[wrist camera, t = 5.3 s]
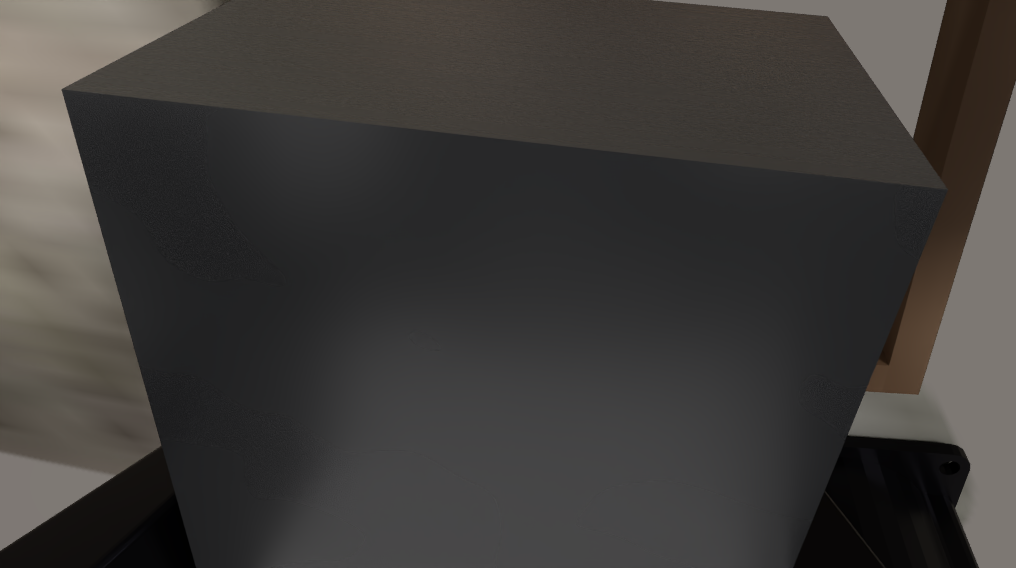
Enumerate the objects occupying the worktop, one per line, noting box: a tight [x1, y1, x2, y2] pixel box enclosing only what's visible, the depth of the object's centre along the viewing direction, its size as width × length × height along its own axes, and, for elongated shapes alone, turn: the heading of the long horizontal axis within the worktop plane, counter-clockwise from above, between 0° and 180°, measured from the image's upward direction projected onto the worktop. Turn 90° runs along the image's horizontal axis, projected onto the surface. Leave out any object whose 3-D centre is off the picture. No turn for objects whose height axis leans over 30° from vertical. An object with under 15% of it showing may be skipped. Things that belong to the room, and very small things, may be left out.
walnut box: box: [866, 0, 1016, 395], centre depth 17 cm, size 15×13×2 cm
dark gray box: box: [62, 0, 948, 568], centre depth 8 cm, size 5×9×4 cm, turn 177°
